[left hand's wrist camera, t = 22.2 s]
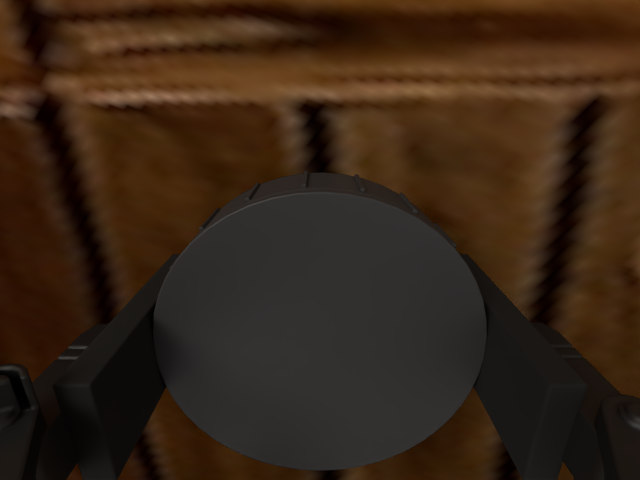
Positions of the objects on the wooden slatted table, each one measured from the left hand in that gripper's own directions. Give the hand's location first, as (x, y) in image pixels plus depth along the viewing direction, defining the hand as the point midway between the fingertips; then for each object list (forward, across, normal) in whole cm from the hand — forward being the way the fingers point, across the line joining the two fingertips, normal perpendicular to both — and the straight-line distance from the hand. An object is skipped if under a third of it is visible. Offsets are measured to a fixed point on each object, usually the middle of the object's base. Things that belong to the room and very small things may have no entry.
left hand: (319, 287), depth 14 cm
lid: (-3, 0, 0) cm, 3 cm away
